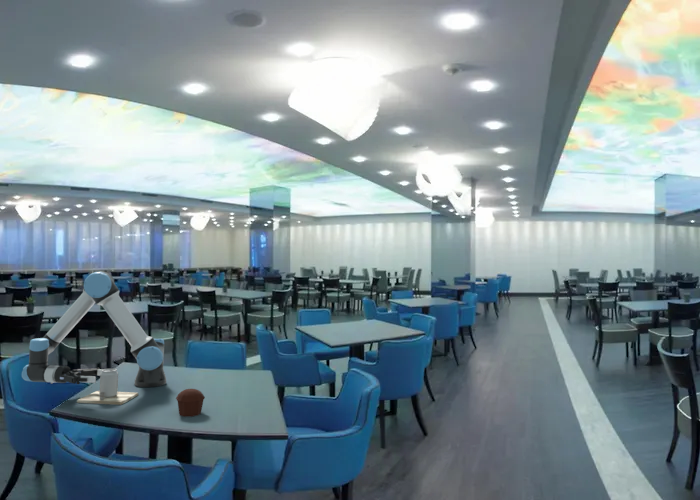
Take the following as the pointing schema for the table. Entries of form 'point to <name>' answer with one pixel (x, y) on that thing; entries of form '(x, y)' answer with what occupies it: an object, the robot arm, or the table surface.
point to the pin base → (100, 399)
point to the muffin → (190, 402)
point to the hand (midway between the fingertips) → (103, 376)
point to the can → (109, 382)
